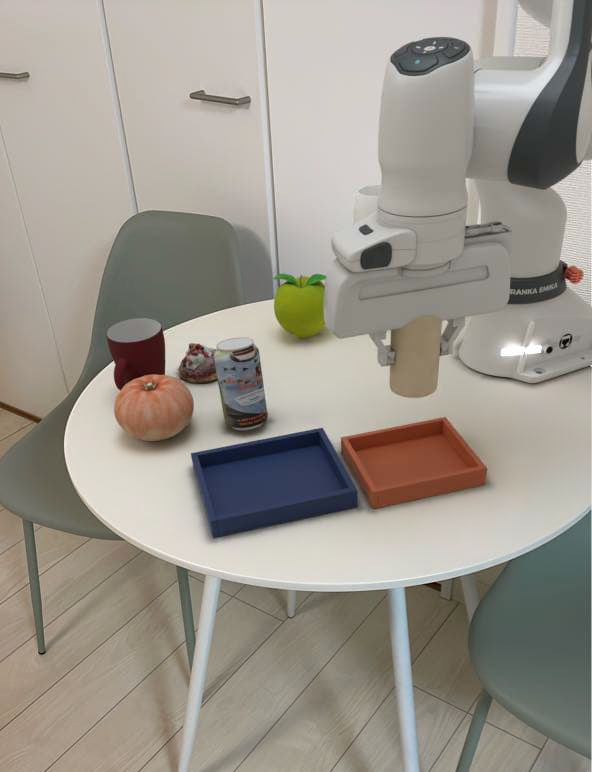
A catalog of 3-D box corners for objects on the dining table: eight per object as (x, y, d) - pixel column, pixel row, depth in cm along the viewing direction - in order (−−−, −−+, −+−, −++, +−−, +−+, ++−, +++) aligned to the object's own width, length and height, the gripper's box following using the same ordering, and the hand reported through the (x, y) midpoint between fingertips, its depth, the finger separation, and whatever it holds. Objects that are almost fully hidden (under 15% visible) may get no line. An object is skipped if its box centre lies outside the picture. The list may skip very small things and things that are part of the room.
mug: (156, 415, 109) (142, 352, 102) (105, 412, 110) (88, 349, 104) (181, 380, 116) (170, 319, 110) (132, 377, 118) (119, 316, 112)
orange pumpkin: (109, 426, 107) (97, 376, 102) (179, 404, 111) (170, 354, 106) (136, 462, 100) (124, 410, 95) (210, 436, 103) (202, 384, 98)
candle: (383, 395, 86) (385, 311, 80) (396, 372, 90) (399, 291, 84) (430, 401, 84) (436, 316, 78) (442, 378, 88) (448, 296, 82)
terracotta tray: (444, 432, 100) (445, 416, 99) (485, 485, 91) (487, 468, 89) (341, 453, 98) (340, 437, 97) (372, 509, 89) (372, 492, 87)
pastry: (171, 380, 116) (165, 350, 113) (192, 358, 122) (187, 329, 118) (218, 386, 114) (213, 356, 111) (237, 363, 119) (234, 334, 116)
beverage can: (236, 441, 102) (225, 361, 94) (214, 417, 107) (203, 339, 99) (277, 428, 104) (270, 347, 96) (254, 405, 109) (246, 327, 101)
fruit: (280, 322, 130) (275, 264, 123) (334, 322, 128) (332, 264, 122) (272, 346, 123) (267, 287, 116) (328, 347, 122) (326, 286, 115)
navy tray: (323, 443, 100) (322, 427, 99) (357, 507, 89) (357, 490, 88) (193, 469, 98) (190, 453, 96) (212, 538, 87) (209, 521, 85)
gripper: (501, 209, 80) (487, 332, 89) (316, 237, 77) (321, 361, 86) (530, 227, 75) (512, 354, 84) (334, 258, 72) (337, 387, 81)
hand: (414, 358), depth 85 cm, fingers closed on candle, 5 cm apart
